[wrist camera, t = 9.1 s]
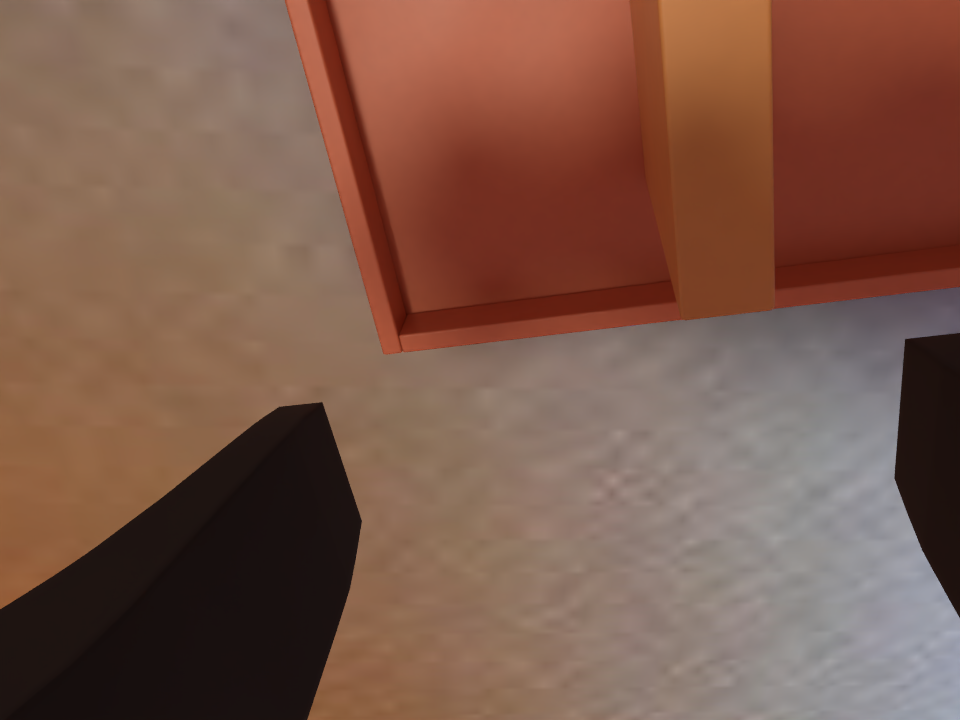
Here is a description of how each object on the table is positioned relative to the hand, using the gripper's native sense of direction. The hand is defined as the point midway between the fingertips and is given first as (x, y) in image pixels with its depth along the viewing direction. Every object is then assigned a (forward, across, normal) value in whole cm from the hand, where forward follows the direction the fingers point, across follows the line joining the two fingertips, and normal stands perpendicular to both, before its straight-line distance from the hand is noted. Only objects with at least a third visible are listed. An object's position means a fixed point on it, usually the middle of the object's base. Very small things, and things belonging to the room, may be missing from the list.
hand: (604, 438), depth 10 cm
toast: (+10, -2, -3) cm, 10 cm away
